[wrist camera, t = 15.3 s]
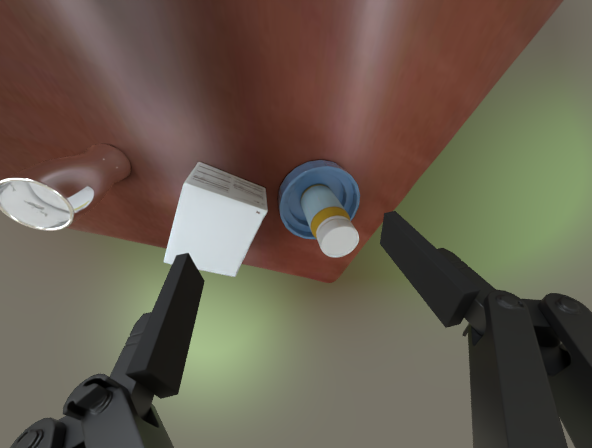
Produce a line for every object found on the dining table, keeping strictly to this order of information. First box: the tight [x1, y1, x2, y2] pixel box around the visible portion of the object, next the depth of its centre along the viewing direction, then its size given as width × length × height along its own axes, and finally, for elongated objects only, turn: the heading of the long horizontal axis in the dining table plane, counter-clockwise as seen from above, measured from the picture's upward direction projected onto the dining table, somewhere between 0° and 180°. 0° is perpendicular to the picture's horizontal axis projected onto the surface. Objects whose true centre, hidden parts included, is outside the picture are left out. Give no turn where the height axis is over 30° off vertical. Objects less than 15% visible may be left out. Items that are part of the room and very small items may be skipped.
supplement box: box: [164, 162, 268, 277], centre depth 40 cm, size 17×13×9 cm
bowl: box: [278, 160, 360, 239], centre depth 44 cm, size 16×16×4 cm
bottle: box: [301, 184, 359, 257], centre depth 39 cm, size 7×7×15 cm
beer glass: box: [0, 144, 131, 231], centre depth 29 cm, size 7×7×15 cm
